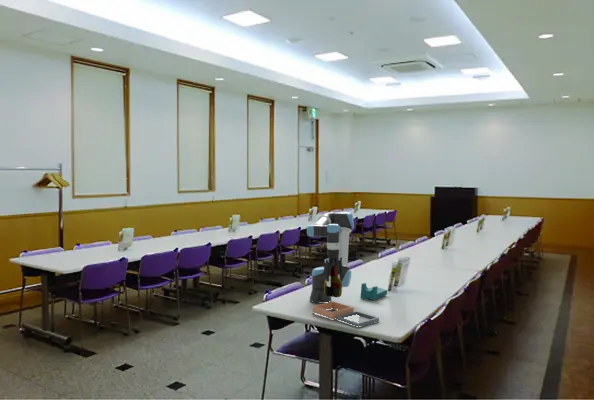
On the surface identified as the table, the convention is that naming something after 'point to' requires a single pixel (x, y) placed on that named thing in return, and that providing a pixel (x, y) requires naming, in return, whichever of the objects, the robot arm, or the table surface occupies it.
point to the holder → (341, 307)
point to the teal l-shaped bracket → (372, 292)
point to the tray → (363, 318)
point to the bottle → (333, 284)
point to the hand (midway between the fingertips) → (333, 285)
